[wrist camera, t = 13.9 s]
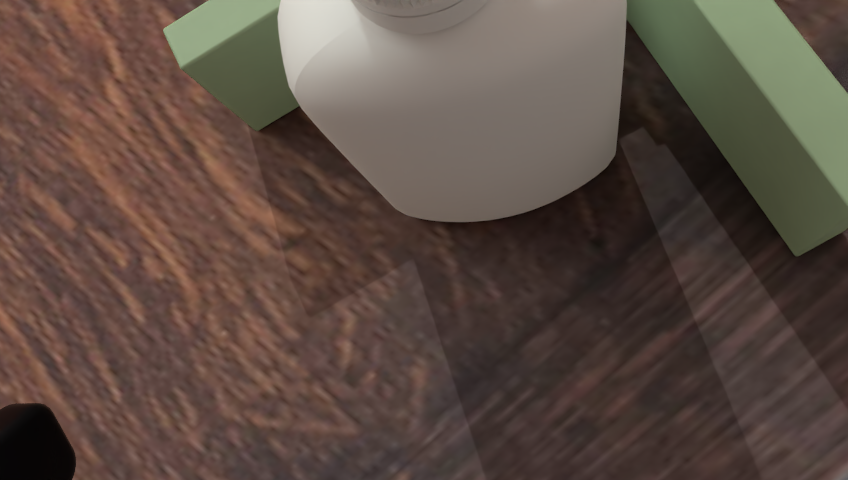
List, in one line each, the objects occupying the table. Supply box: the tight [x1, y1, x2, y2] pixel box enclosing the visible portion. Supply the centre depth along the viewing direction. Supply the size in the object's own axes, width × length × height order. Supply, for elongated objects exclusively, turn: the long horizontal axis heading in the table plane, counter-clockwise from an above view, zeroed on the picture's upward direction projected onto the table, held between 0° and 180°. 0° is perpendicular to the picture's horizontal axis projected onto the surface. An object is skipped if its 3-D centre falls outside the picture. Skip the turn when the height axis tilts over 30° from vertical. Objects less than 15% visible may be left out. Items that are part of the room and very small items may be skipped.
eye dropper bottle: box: [277, 0, 627, 222], centre depth 13 cm, size 4×6×12 cm
